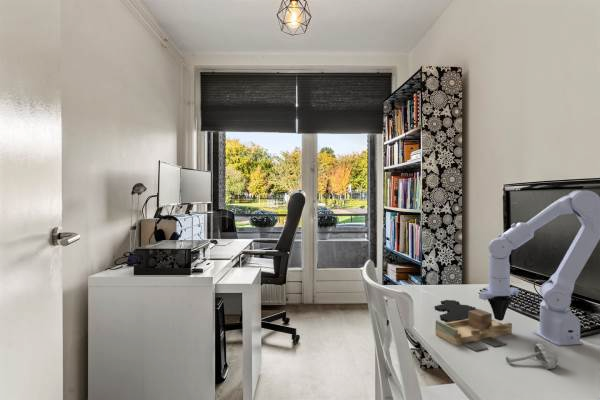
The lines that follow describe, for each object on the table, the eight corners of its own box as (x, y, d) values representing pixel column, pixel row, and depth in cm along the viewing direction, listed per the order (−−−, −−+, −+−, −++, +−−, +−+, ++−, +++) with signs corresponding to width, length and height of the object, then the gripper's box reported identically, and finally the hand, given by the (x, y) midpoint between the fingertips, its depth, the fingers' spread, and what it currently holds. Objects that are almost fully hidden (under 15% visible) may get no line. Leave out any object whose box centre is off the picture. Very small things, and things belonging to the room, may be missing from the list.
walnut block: (479, 323, 110) (479, 309, 110) (491, 328, 106) (491, 313, 106) (468, 325, 109) (468, 310, 108) (480, 330, 104) (480, 315, 104)
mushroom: (500, 344, 91) (548, 338, 90) (500, 359, 92) (547, 353, 91) (515, 363, 84) (567, 357, 83) (515, 379, 85) (566, 373, 85)
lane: (489, 323, 114) (489, 310, 114) (527, 339, 102) (528, 325, 102) (435, 334, 106) (435, 320, 106) (470, 353, 94) (470, 337, 94)
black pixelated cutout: (497, 335, 106) (476, 304, 134) (497, 332, 106) (476, 301, 134) (440, 330, 110) (432, 301, 139) (440, 327, 110) (432, 298, 139)
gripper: (504, 271, 116) (504, 312, 116) (471, 275, 111) (471, 318, 111) (524, 276, 109) (524, 319, 110) (490, 281, 104) (490, 326, 105)
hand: (498, 319), depth 110 cm, fingers closed
